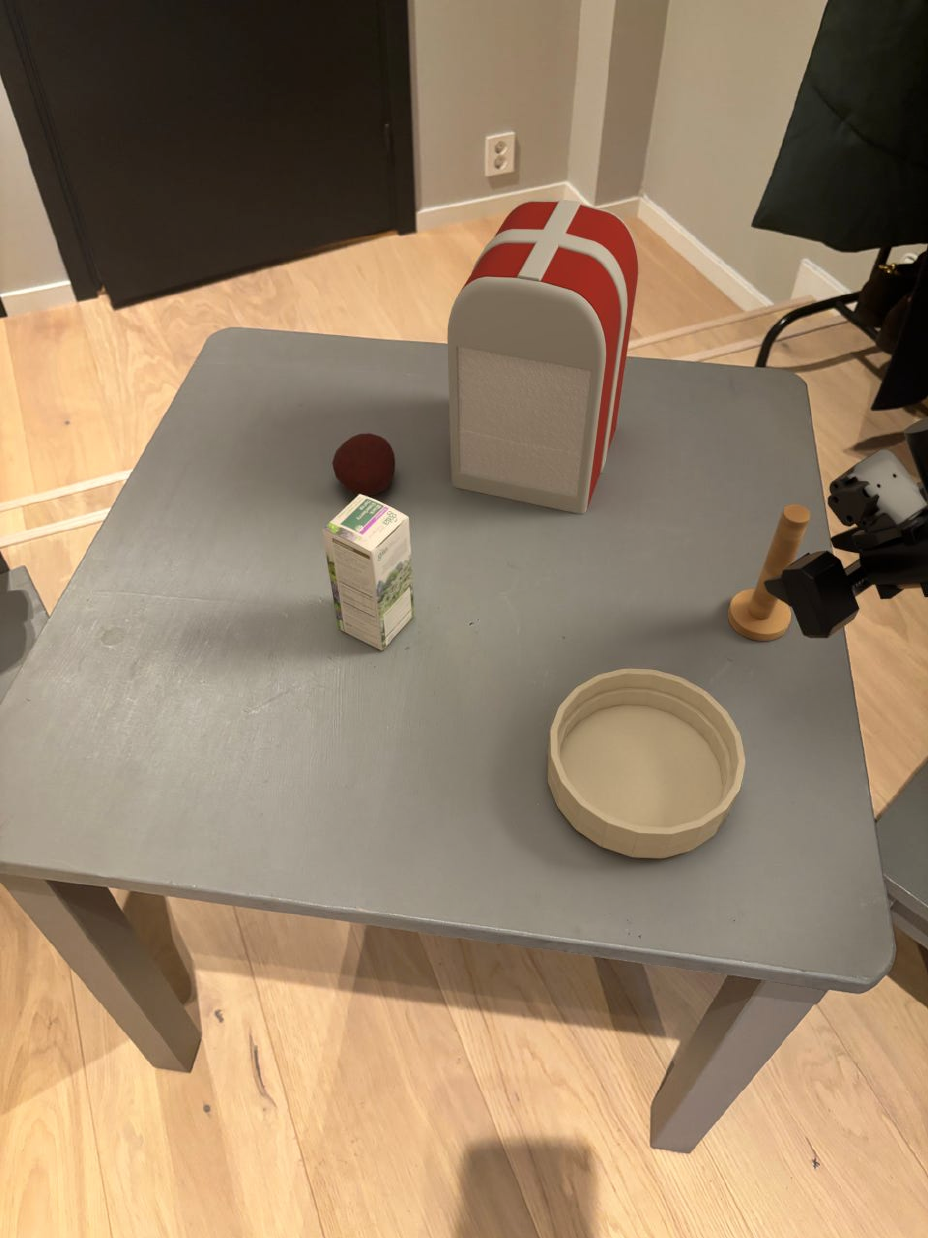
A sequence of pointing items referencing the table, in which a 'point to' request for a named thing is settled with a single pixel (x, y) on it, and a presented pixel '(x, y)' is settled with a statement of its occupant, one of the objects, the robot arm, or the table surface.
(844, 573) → the robot arm
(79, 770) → the table surface
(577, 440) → the red white rounded box
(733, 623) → the tan wooden tall post
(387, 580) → the syrup box
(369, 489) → the potato
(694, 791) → the bowl
